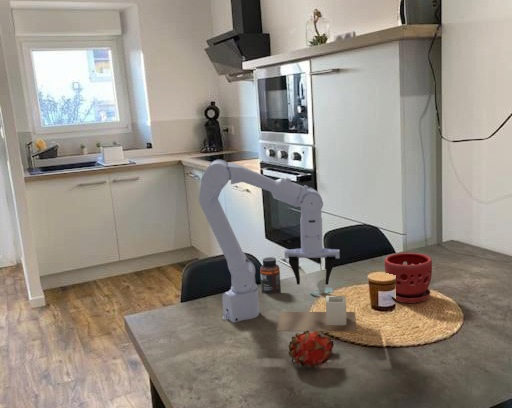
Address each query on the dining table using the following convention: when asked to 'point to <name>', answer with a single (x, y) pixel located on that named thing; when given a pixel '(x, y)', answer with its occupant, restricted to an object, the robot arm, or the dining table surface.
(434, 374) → the dining table surface
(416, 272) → the plant pot
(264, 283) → the supplement bottle
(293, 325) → the post board
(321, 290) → the pacifier
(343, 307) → the white hollow block
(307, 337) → the dragon fruit
